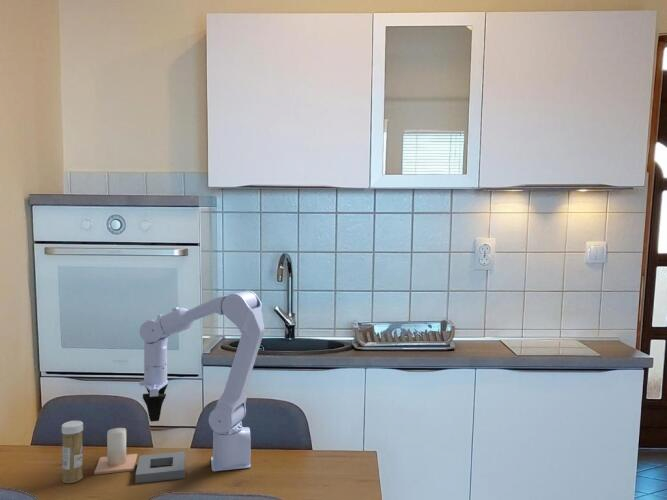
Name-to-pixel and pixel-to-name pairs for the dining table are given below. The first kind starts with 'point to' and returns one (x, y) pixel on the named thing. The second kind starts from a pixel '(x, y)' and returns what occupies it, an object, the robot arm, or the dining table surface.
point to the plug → (116, 447)
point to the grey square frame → (160, 473)
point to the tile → (105, 468)
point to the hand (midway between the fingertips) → (155, 415)
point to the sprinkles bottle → (72, 451)
